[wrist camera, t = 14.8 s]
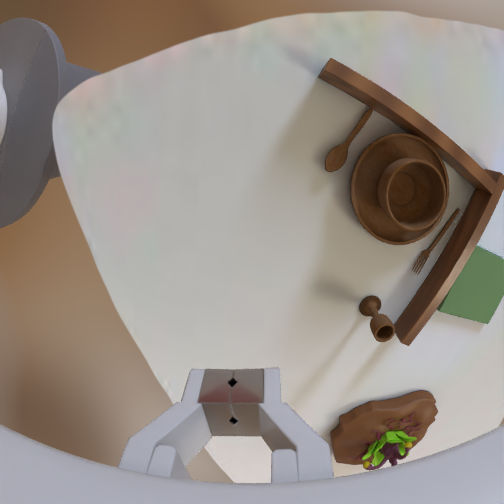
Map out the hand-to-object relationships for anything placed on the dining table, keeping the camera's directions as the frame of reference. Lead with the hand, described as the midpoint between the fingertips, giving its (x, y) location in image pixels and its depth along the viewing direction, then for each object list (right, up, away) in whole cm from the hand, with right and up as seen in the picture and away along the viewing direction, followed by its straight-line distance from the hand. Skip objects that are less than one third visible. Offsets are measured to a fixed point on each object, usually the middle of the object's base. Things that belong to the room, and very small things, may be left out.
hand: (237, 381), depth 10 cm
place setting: (+14, +8, +21) cm, 27 cm away
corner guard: (+14, +9, +20) cm, 26 cm away
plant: (+24, -28, +34) cm, 50 cm away
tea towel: (+33, 0, +23) cm, 40 cm away
